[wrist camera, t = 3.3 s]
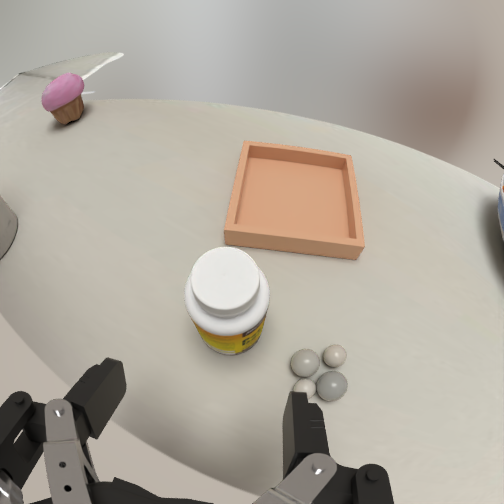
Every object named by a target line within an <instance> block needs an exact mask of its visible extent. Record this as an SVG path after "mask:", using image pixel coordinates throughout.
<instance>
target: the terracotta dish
mask: <svg viewBox="0 0 504 504" xmlns="http://www.w3.org/2000/svg"><path fill="white" fill-rule="evenodd" d="M224 234H225V244H226V245H235V246H243V247H252V248H260V249H269V250H277V251H286V252H294V253H303V254H311V255H319V256H328V257H336V258H344V259H353V260H356V259H357V258H358V256H359V255H360V253H361V252H362V250H363V249H364V247H365V244H364V235H363V226H362V218H361V211H360V204H359V197H358V191H357V185H356V179H355V173H354V167H353V162H352V157H351V155H345V154H340V153H334V152H329V151H323V150H316V149H310V148H303V147H296V146H288V145H280V144H272V143H262V142H252V141H244V142H243V147H242V151H241V155H240V159H239V164H238V168H237V173H236V177H235V182H234V186H233V191H232V195H231V200H230V204H229V209H228V214H227V218H226V223H225V228H224Z"/></svg>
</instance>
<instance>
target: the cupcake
mask: <svg viewBox="0 0 504 504" xmlns="http://www.w3.org/2000/svg"><path fill="white" fill-rule="evenodd" d="M83 89H84V82H83V80H82V78H81V77H80V76H78V75H76V74H72V73H66V74H63V75H61V76H59V77H57V78H56V79H55V80H53V81H52V82H51V83H50V84H48V85H47V86H46V89H45V90H44V92H43V93H42V105H43V107H44V108H45V110H47V111H50V112H51V113H52V114H53V116H54V117H55V118H56V119H57V121H59V122H60V123H62V124H67V123H69V122H70V121H74V120H77V119H79V118H80V116H81V114H82V112H83V108H84V105H83V101H82V98H81V93H82V92H83Z"/></svg>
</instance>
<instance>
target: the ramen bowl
mask: <svg viewBox="0 0 504 504" xmlns="http://www.w3.org/2000/svg"><path fill="white" fill-rule="evenodd" d="M494 160H495V159H494ZM494 162H496V163H497V164H498V163H499V162H498V161H496V160H495V161H494ZM498 165H499V166H500V167H502V168H503V167H504V166H503V165H502V164H500V163H499V164H498ZM503 169H504V168H503ZM498 218H499V223H500V228H501V234H502V238H503V241H504V174H503V176H502V181H501V187H500V193H499V200H498Z"/></svg>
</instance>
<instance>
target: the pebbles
mask: <svg viewBox="0 0 504 504" xmlns="http://www.w3.org/2000/svg"><path fill="white" fill-rule="evenodd" d="M346 356H347V355H346V351H345V349H344V348H343V347H342V346H340V345H331V346H329V347H328V348H327V349H326V350H325V352H324V361H325V363H326V364H327V365H328V366H330V367H338V366H341V365H342V364H343V363H344V362H345V360H346ZM319 366H320V359H319V356H318V355H317V353H316V352H314V351H313V350H310V349H302V350H299V351H298V352H296V353H295V354H294V356H293V357H292V360H291V367H292V370H293V371H294V372H295V373H296V374H297V375H299V376H301V377H309V376H312V375H313V374H315V373H316V372H317V370H318V369H319ZM347 387H348V383H347V379H346V378H345V376H344V375H343V374H342V373H340V372H337V371H329V372H326V373H325V374H323V375H322V376H321V377H320V378H319V380H318V382H317V392H318V394H319V396H320V397H321V398H323V399H324V400H327V401H335V400H338V399H340V398H341V397H343V396H344V394H345V393H346V391H347ZM315 391H316V386H315V383H314V382H313V381H312V380H310V379H301V380H299V381H298V382H297V383H296V384H295V387H294V392H306V393H307V398H308V399H309V398H311V397H312V396H313V395H314V394H315Z"/></svg>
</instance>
